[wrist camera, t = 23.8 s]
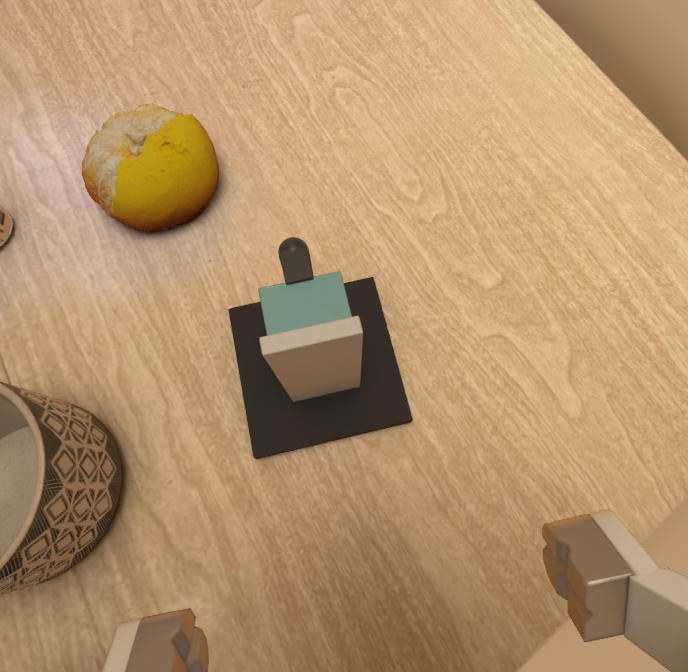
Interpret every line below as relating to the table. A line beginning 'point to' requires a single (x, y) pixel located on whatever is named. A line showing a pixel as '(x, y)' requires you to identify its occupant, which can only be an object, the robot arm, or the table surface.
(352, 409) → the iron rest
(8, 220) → the beer can
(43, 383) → the table surface
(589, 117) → the table surface
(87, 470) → the planter
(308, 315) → the iron
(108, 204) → the fruit
